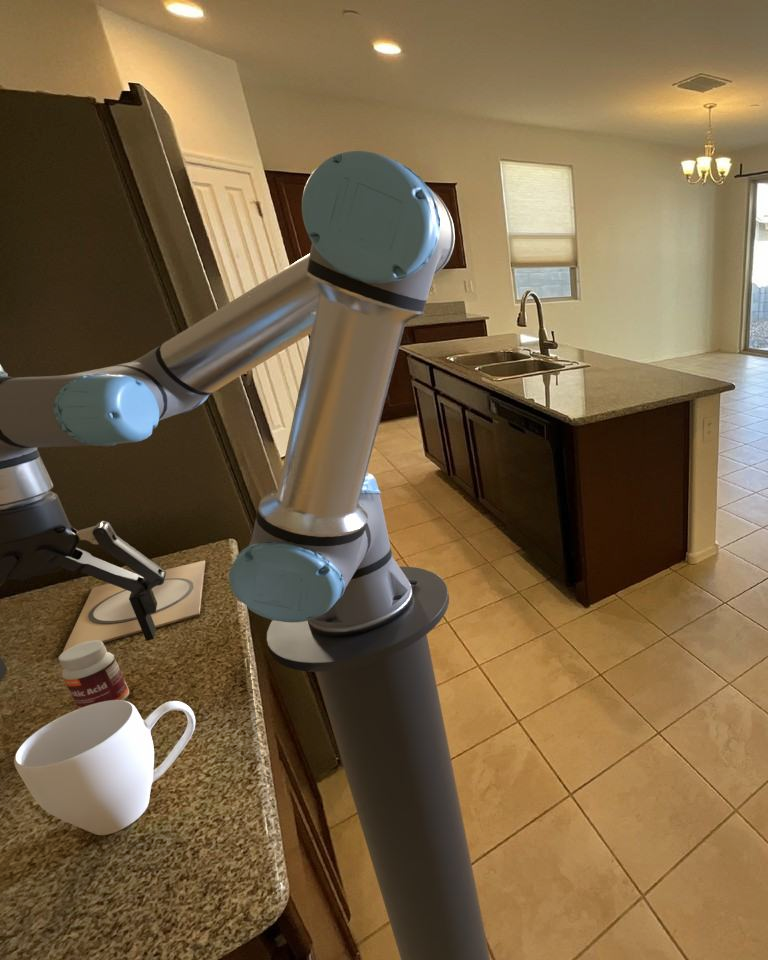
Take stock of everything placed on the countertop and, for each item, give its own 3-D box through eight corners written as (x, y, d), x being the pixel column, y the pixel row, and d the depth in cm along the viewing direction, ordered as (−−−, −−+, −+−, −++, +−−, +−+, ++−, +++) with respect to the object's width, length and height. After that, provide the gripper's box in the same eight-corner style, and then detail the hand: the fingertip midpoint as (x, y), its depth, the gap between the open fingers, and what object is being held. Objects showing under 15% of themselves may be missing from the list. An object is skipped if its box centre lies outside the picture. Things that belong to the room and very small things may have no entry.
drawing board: (205, 561, 103) (204, 559, 102) (199, 615, 86) (198, 612, 86) (93, 589, 94) (92, 586, 94) (63, 654, 77) (61, 651, 77)
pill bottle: (72, 721, 65) (44, 667, 62) (91, 695, 69) (65, 644, 66) (121, 709, 67) (96, 656, 64) (137, 684, 71) (113, 634, 68)
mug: (67, 875, 48) (12, 787, 44) (60, 819, 53) (11, 735, 49) (224, 786, 57) (190, 704, 52) (206, 744, 62) (174, 667, 58)
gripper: (-206, 544, 48) (-92, 720, 56) (151, 485, 62) (204, 633, 69) (-160, 516, 54) (-62, 679, 61) (157, 468, 68) (206, 606, 75)
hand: (79, 655), depth 65 cm, fingers open, 13 cm apart
